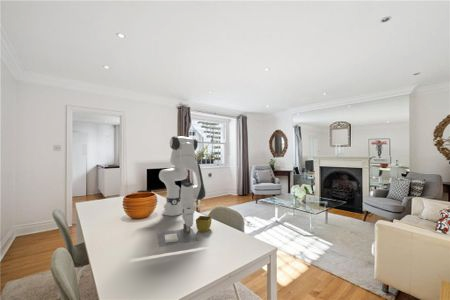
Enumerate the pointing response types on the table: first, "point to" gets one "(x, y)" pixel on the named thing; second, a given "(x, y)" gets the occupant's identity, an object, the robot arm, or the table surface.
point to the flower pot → (203, 223)
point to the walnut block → (185, 228)
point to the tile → (171, 238)
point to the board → (182, 237)
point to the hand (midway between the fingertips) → (186, 228)
